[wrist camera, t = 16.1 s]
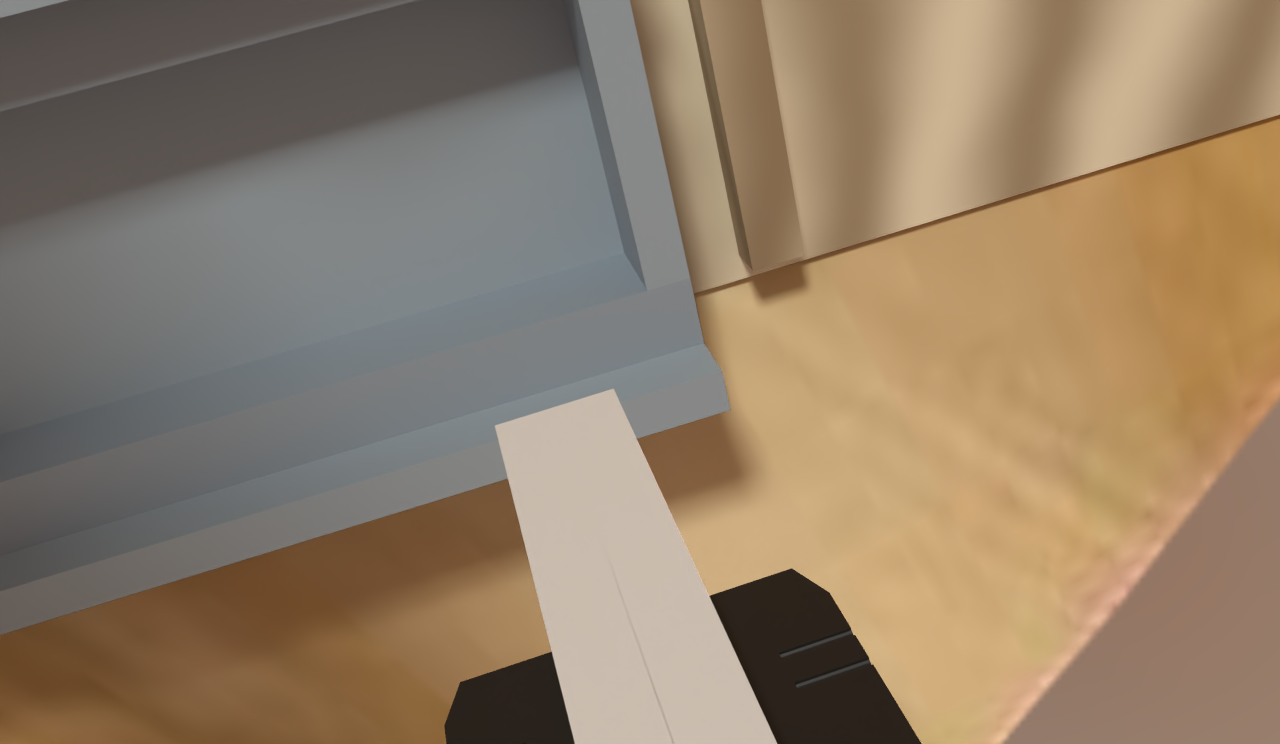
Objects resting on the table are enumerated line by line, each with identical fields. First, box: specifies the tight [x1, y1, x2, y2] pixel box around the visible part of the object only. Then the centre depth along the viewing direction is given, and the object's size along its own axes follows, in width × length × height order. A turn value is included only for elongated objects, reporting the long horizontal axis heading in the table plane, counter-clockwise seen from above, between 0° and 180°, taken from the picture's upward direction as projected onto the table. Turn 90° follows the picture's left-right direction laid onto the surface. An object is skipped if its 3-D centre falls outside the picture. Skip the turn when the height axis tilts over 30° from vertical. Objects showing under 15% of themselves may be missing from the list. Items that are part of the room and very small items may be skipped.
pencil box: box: [0, 0, 730, 635], centre depth 29 cm, size 26×15×6 cm, turn 103°
